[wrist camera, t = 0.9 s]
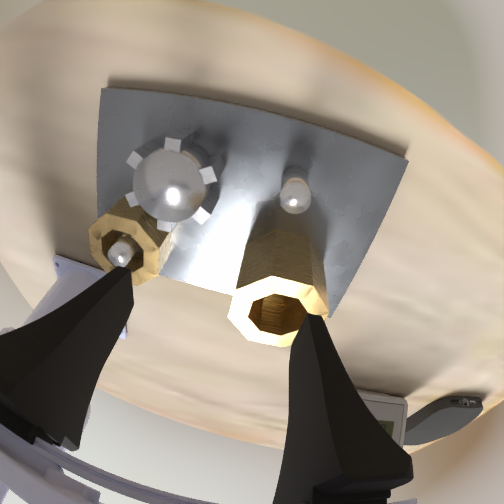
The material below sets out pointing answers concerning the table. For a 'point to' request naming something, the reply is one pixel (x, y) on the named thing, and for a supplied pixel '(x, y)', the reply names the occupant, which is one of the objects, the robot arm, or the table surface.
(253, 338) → the brass octagonal sleeve
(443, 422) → the media streaming box
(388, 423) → the digital clock
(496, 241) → the table surface
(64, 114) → the table surface
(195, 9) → the table surface
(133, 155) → the plate
